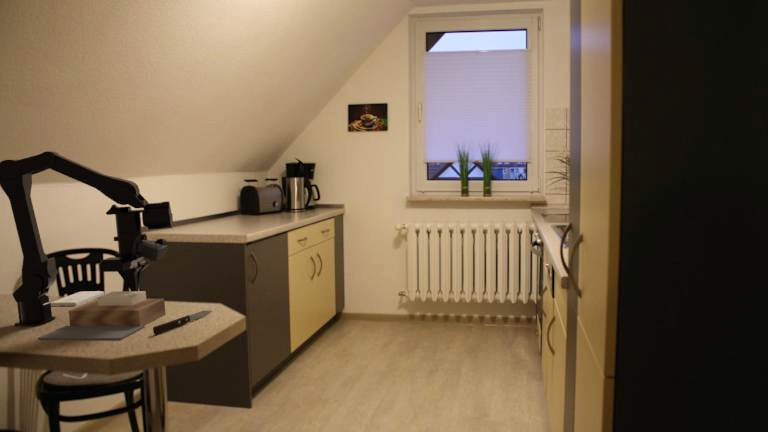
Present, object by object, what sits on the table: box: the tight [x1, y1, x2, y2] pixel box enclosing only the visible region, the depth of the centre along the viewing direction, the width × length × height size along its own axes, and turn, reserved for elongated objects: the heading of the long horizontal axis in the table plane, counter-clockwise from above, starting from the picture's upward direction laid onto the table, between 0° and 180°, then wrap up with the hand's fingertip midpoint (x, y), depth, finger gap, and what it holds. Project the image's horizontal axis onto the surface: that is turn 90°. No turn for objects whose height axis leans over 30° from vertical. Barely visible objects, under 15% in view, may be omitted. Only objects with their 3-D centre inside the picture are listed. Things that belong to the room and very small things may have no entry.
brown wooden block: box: [68, 298, 166, 327], centre depth 148 cm, size 18×11×4 cm, turn 80°
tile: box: [96, 290, 147, 306], centre depth 150 cm, size 9×6×2 cm, turn 80°
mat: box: [38, 325, 145, 341], centre depth 138 cm, size 20×9×1 cm, turn 80°
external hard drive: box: [50, 290, 105, 307], centre depth 173 cm, size 2×8×12 cm
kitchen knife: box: [152, 310, 213, 336], centre depth 142 cm, size 18×1×2 cm, turn 153°
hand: (135, 293), depth 155 cm, fingers closed
